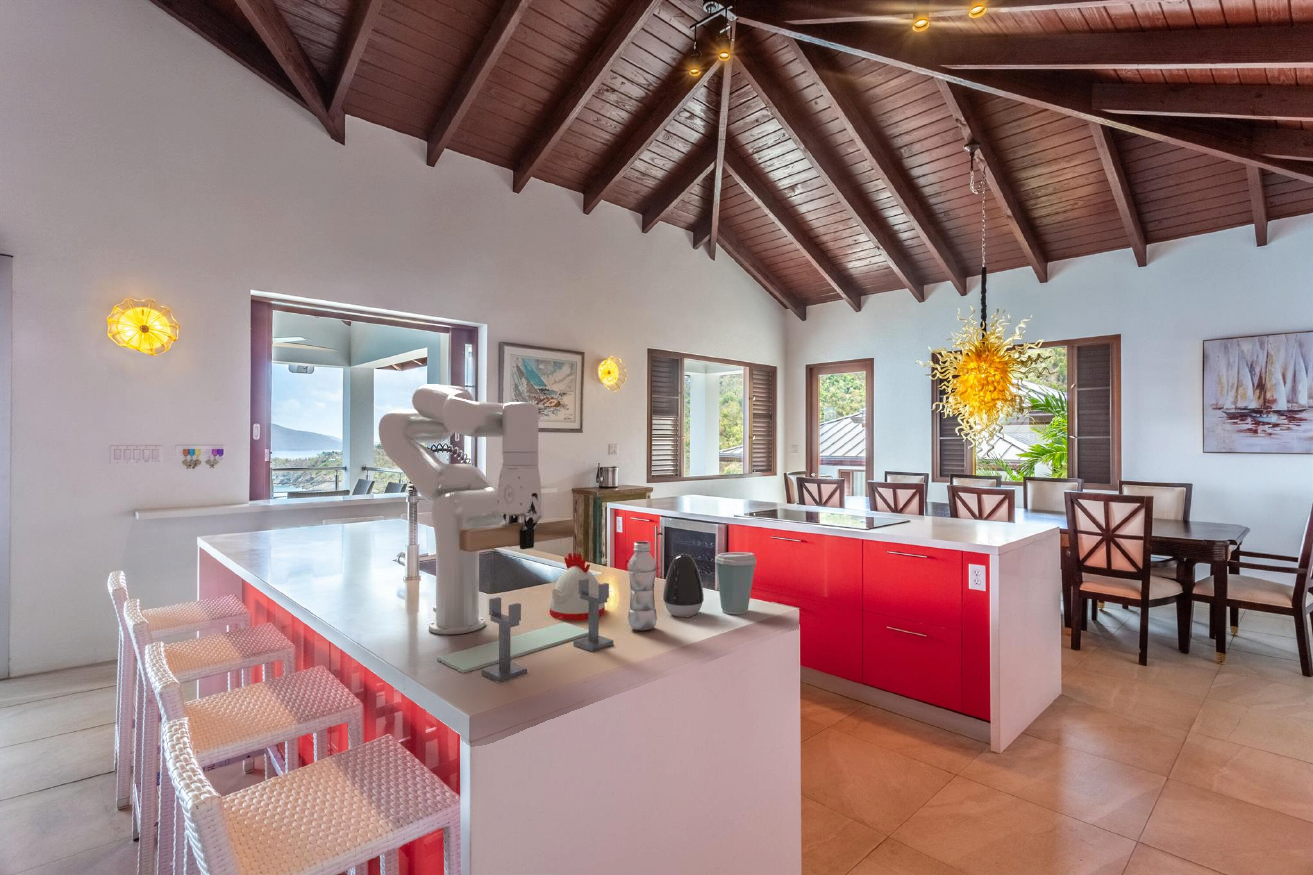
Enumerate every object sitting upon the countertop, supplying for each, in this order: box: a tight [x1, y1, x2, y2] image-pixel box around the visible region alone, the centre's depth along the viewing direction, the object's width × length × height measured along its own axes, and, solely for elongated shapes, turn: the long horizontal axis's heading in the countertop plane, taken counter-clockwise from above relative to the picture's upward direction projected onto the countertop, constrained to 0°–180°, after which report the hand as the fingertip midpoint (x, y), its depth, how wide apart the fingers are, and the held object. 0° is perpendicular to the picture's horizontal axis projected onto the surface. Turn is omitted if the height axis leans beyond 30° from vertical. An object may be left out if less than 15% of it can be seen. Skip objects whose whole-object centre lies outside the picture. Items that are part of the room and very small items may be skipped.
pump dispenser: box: [662, 553, 705, 618], centre depth 153 cm, size 10×10×15 cm
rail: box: [459, 517, 575, 552], centre depth 129 cm, size 4×26×4 cm, turn 138°
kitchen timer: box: [549, 552, 606, 621], centre depth 155 cm, size 14×14×15 cm
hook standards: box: [481, 578, 615, 684], centre depth 122 cm, size 7×28×14 cm, turn 137°
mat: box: [436, 622, 589, 674], centre depth 129 cm, size 10×32×1 cm, turn 137°
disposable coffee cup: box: [714, 551, 757, 615], centre depth 156 cm, size 11×11×15 cm
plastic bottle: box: [627, 540, 658, 631], centre depth 141 cm, size 6×7×20 cm
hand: (520, 546), depth 129 cm, fingers closed on rail, 4 cm apart
